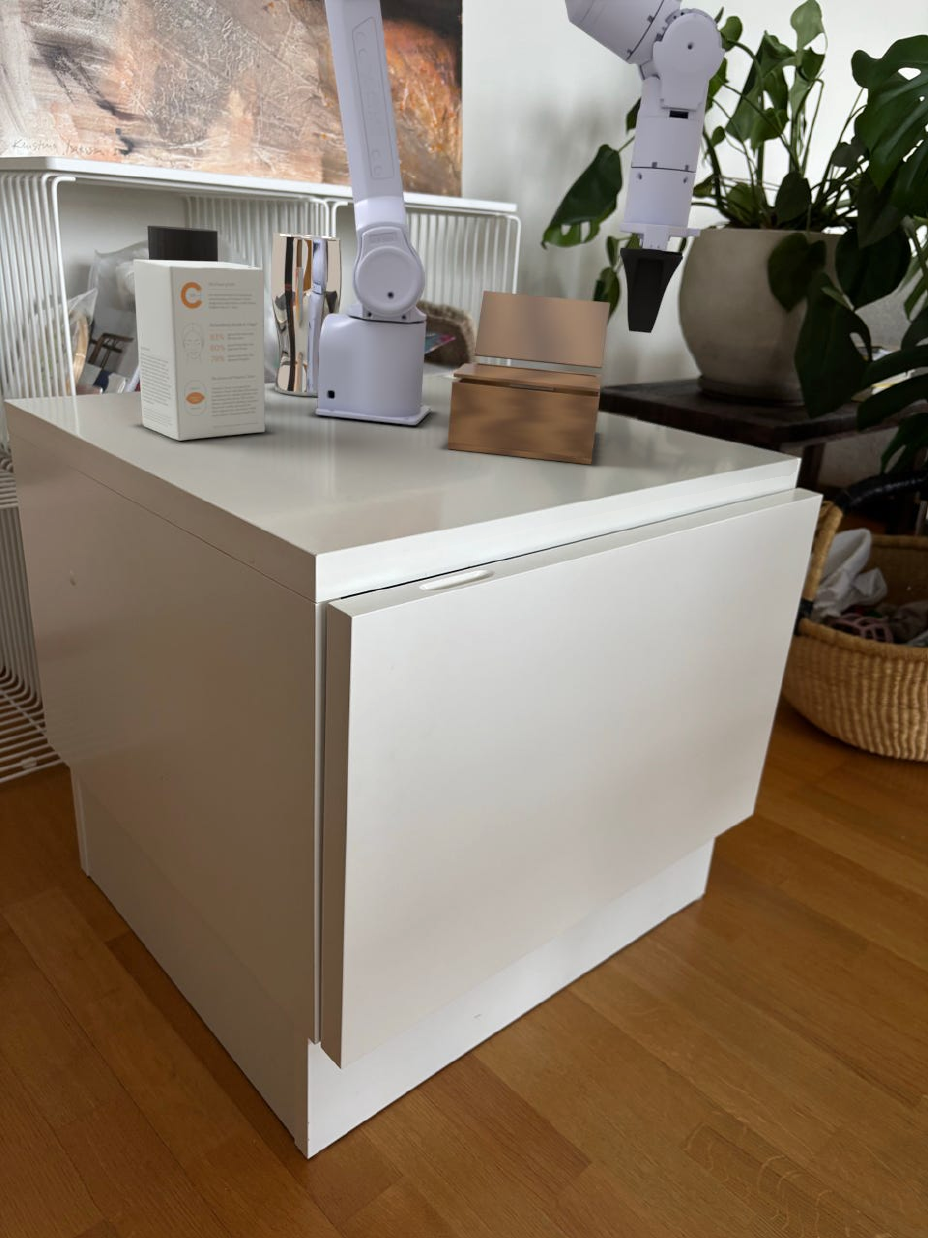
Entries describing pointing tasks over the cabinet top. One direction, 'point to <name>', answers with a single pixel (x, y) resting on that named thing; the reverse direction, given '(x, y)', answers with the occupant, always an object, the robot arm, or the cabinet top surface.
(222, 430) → the small box
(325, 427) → the cabinet top surface
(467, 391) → the wooden box
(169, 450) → the cabinet top surface
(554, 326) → the flap
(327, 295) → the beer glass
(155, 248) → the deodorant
